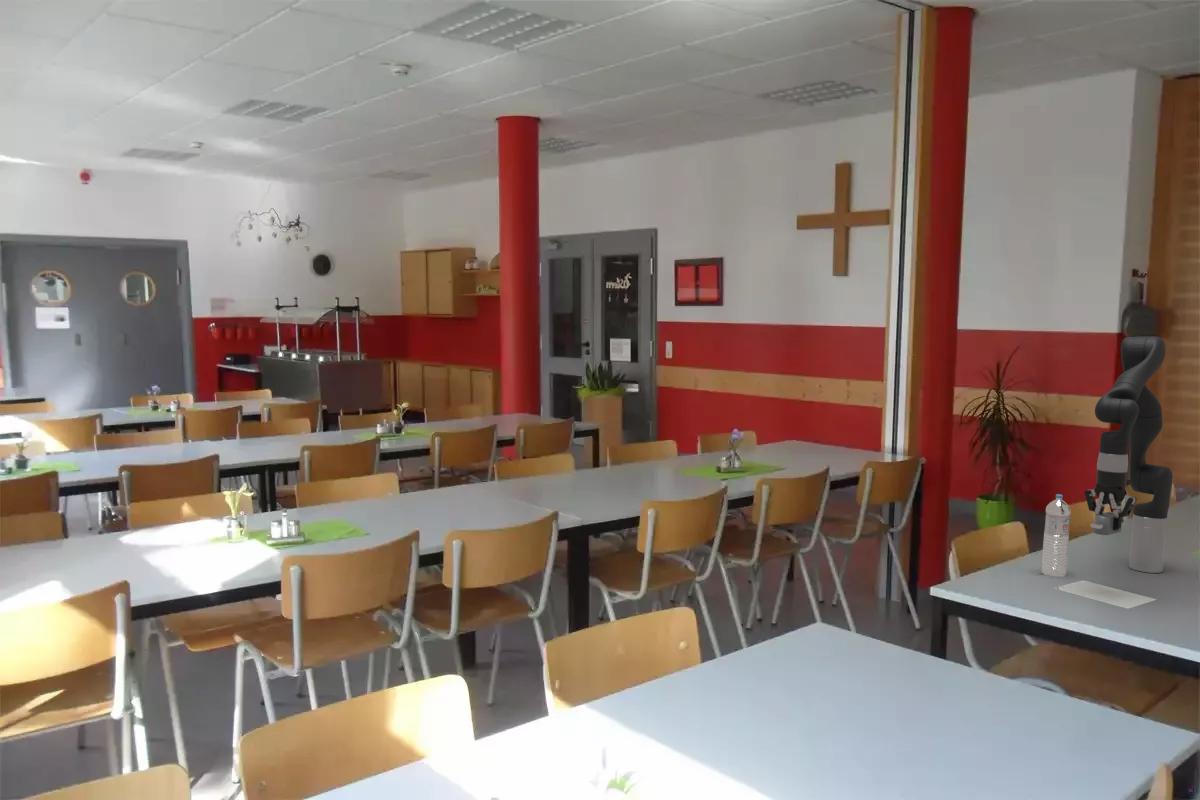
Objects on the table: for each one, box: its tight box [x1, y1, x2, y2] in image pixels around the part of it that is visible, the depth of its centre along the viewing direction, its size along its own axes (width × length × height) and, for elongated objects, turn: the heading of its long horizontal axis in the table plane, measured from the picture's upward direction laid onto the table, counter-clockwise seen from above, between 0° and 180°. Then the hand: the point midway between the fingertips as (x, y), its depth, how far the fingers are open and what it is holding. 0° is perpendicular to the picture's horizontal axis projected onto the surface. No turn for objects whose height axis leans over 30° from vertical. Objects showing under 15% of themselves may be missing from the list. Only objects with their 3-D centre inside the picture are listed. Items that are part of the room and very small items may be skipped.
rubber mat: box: [1053, 579, 1157, 610], centre depth 261 cm, size 16×21×1 cm
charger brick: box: [1090, 511, 1122, 536], centre depth 260 cm, size 12×4×5 cm, turn 124°
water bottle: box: [1041, 493, 1072, 578], centre depth 279 cm, size 7×7×25 cm
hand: (1107, 528), depth 261 cm, fingers closed on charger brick, 4 cm apart
